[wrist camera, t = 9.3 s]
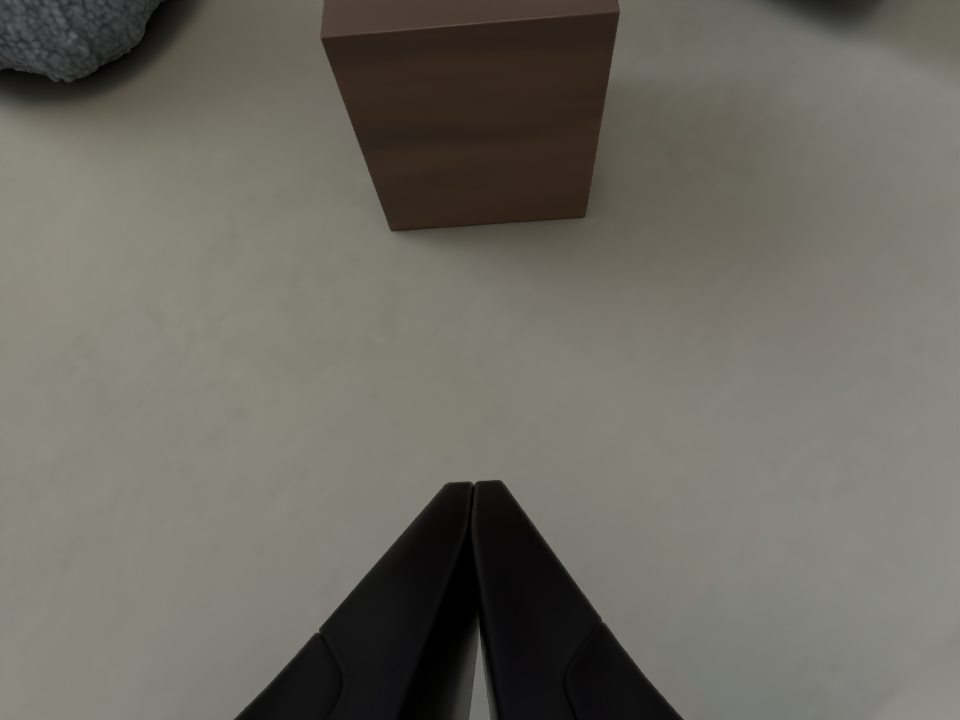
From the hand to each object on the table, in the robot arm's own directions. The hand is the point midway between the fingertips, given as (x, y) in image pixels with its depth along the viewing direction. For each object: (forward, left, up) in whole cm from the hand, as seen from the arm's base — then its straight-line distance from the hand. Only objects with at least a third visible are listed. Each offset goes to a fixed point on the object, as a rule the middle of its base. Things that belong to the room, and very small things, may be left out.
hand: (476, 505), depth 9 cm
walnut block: (+15, -8, -11) cm, 20 cm away
